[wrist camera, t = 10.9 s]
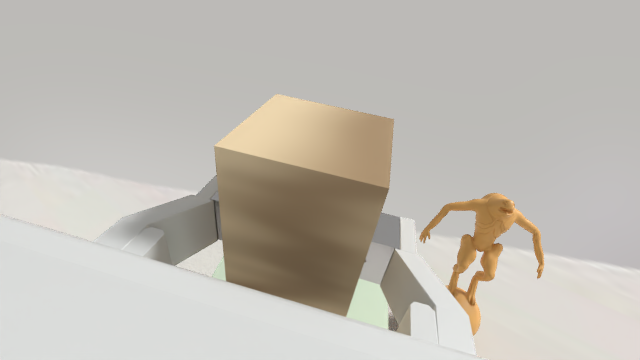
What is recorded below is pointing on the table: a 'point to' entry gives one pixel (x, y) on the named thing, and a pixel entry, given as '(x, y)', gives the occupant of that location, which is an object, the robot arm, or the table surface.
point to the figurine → (484, 245)
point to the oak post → (302, 199)
